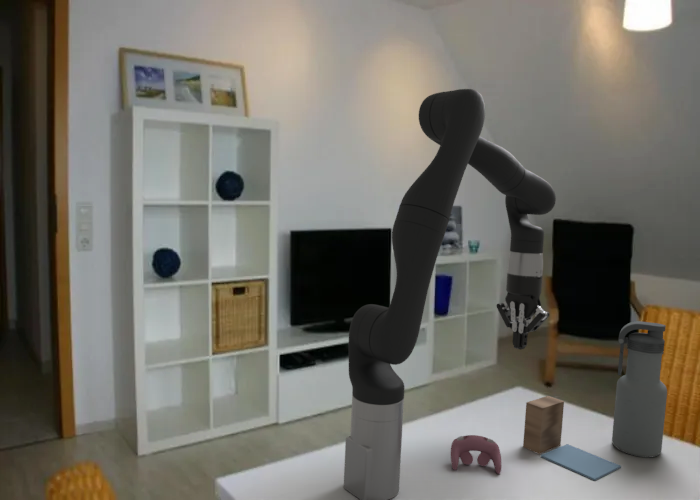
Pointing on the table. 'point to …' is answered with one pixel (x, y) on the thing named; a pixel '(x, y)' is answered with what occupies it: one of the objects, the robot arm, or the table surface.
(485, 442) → the video game controller
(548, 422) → the wooden block
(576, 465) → the rubber mat
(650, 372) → the water bottle
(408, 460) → the table surface
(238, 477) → the table surface
